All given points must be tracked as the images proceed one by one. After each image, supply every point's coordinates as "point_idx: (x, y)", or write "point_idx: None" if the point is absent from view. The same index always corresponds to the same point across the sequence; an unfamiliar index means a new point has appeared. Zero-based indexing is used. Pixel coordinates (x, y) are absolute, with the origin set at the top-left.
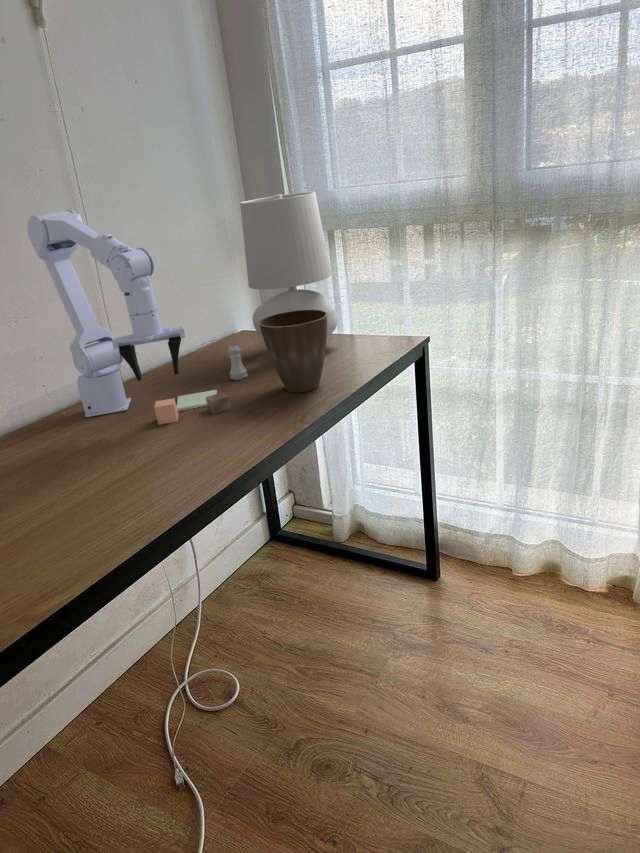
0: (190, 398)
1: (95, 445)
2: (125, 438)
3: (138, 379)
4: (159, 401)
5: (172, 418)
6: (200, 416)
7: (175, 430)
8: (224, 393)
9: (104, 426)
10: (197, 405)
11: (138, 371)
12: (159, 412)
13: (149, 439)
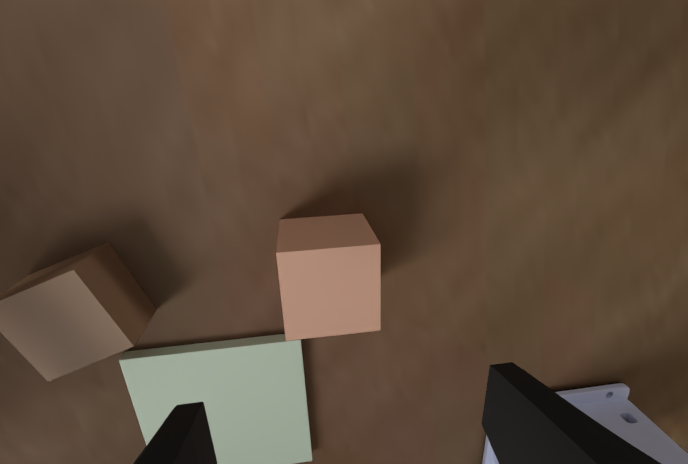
0: (256, 427)
1: (617, 77)
2: (496, 104)
3: (514, 369)
4: (361, 321)
5: (298, 224)
6: (175, 237)
7: (270, 99)
8: (31, 363)
9: (570, 282)
10: (208, 348)
11: (540, 436)
12: (355, 234)
13: (387, 30)
